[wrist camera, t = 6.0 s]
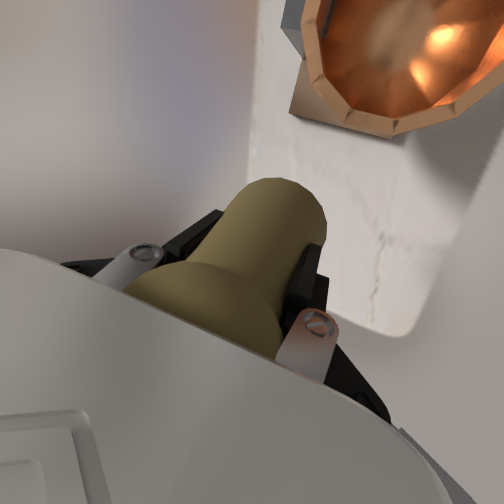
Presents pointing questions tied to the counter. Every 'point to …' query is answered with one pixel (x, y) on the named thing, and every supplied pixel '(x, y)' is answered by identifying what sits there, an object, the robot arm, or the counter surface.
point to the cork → (241, 266)
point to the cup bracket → (393, 60)
